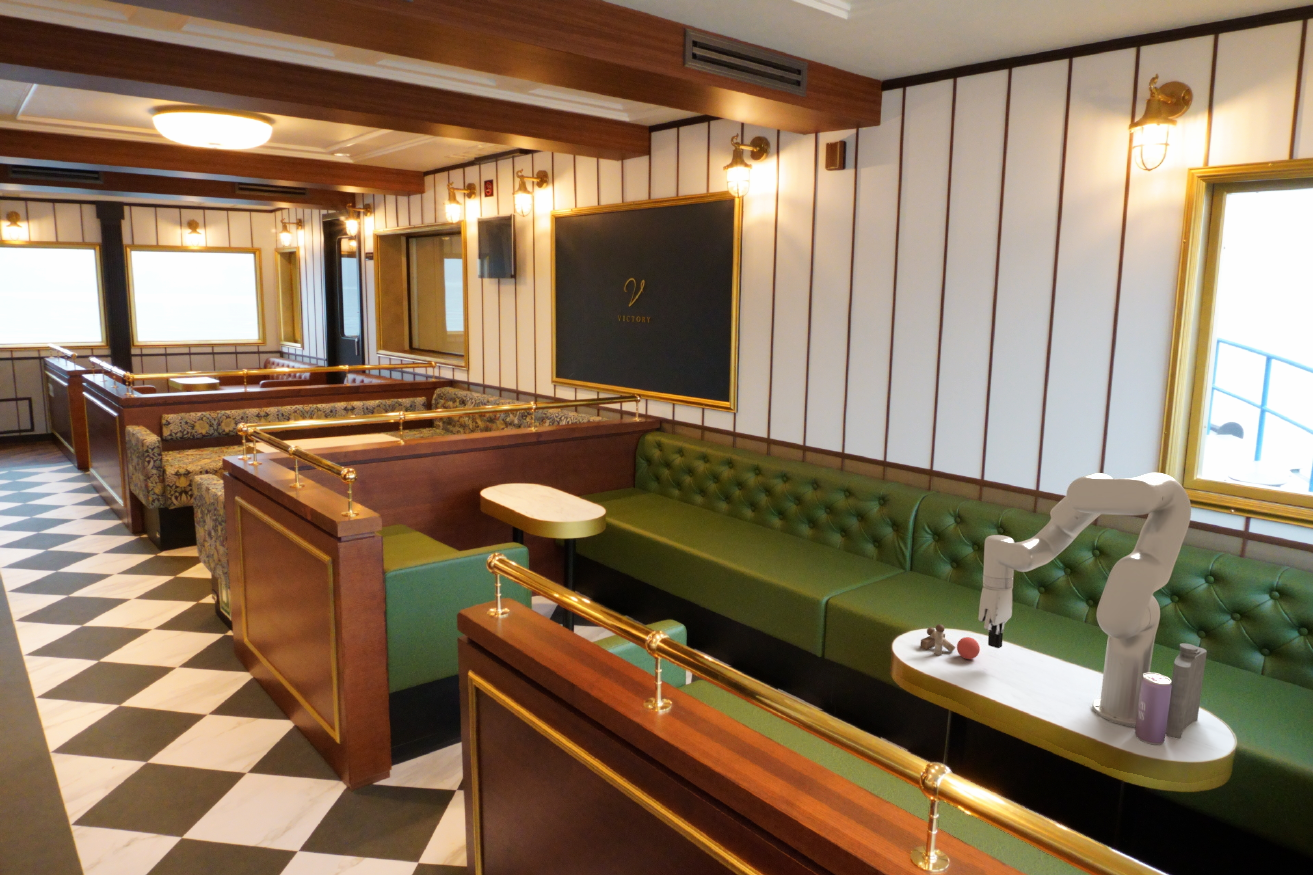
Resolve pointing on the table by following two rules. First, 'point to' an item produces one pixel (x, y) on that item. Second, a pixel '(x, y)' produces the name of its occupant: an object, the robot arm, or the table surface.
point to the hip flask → (1185, 689)
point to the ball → (968, 648)
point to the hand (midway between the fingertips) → (995, 646)
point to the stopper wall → (928, 642)
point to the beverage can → (1153, 708)
